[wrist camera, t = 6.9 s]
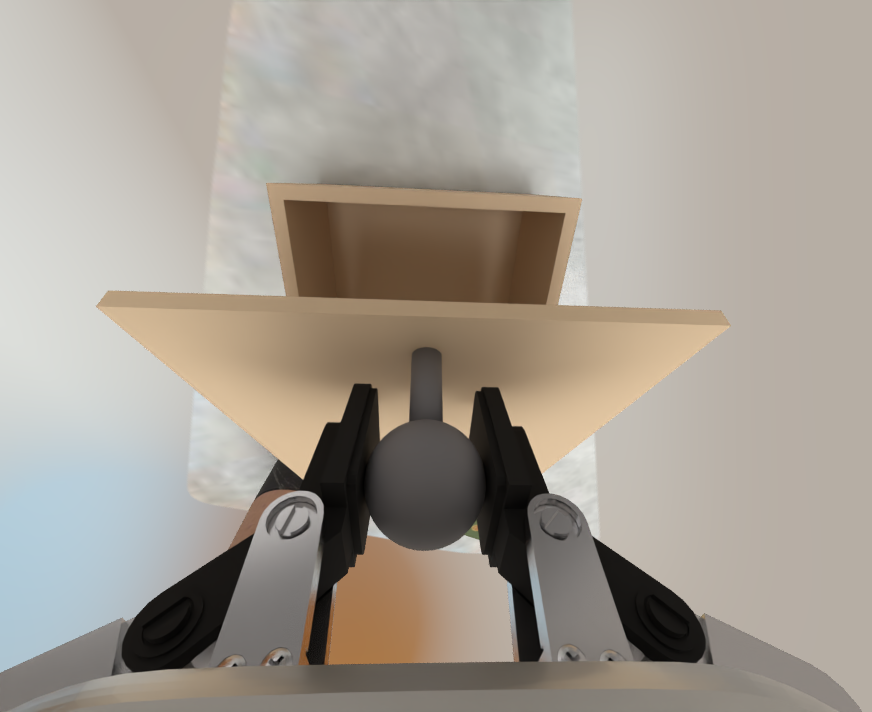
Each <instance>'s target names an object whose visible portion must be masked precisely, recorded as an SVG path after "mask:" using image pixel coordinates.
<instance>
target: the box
mask: <svg viewBox="0 0 872 712" xmlns="http://www.w3.org/2000/svg"><path fill="white" fill-rule="evenodd" d="M266 185H267V191H268V196H269V202H270V208H271V213H272V219H273V224H274V230H275V236H276V241H277V247H278V253H279V258H280V264H281V270H282V275H283V281H284V287H285V292H286V296H289V297H320V298H351V299H381V300H412V301H442V302H473V303H504V304H534V305H558V302H559V297H560V293H561V289H562V284H563V280H564V276H565V271H566V267H567V263H568V258H569V254H570V250H571V245H572V241H573V236H574V232H575V228H576V223H577V219H578V215H579V210H580V206H581V202H582V199H580V198H568V197H556V196H545V195H533V194H514V193H494V192H474V191H453V190H433V189H413V188H393V187H373V186H353V185H333V184H298V183H266Z"/></svg>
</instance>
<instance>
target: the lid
mask: <svg viewBox="0 0 872 712" xmlns="http://www.w3.org/2000/svg"><path fill="white" fill-rule="evenodd" d="M96 307H97V308H98V309H100V310H101V311H102V312H103V313H104V314H105V315H107V316H108V317H109V318H110V319H111V320H113V321H114V322H115V323H116V324H117V325H119V326H120V327H121V328H122V329H123V330H125V331H126V332H127V333H128V334H130V335H131V336H132V337H133V338H134V339H135V340H137V341H138V342H139V343H140V344H141V345H143V346H144V347H145V348H146V349H148V350H149V351H150V352H151V353H152V354H153V355H155V356H156V357H157V358H158V359H159V360H161V361H162V362H163V363H164V364H166V366H168V367H169V368H170V369H171V370H172V371H174V372H175V373H176V374H177V375H178V376H180V377H181V378H182V379H183V380H185V381H186V382H187V383H188V384H189V385H191V386H192V387H193V388H194V389H195V390H196V391H198V392H199V393H200V394H201V395H202V396H204V397H205V398H206V399H207V400H208V401H210V402H211V403H212V404H213V405H214V406H216V407H217V408H218V409H219V410H220V411H222V412H223V413H224V414H225V415H226V416H228V417H229V418H230V419H231V420H232V421H234V422H235V423H236V424H237V425H238V426H240V427H241V428H242V429H243V430H244V431H245V432H247V433H248V434H249V435H250V436H251V437H253V438H254V439H255V440H256V441H257V442H259V443H260V444H261V445H262V446H263V447H265V448H266V449H267V450H268V451H269V452H271V453H272V454H273V455H274V456H275V457H277V458H278V459H279V460H280V461H281V462H283V463H284V464H285V465H286V466H287V467H289V468H290V469H291V470H292V471H293V472H295V473H296V474H297V475H298V476H299V477H301V478H302V479H304V476H305V474H306V471H307V469H308V466H309V464H310V461H311V459H312V457H313V454H314V452H315V449H316V447H317V444H318V442H319V439H320V437H321V434H322V432H323V429H324V427H325V425H326V423H328V422H341V420H342V417H343V414H344V411H345V408H346V405H347V402H348V400H349V397H350V394H351V391H352V388H353V385H354V384H355V383H359V384H371V385H372V388H377V389H378V405H379V428H380V442H379V443H378V444H377V446H376V447H375V449H374V450H373V452H372V454H371V456H370V458H369V461H368V464H367V467H366V471H365V477H364V496H365V500H366V505H367V508H368V510H369V513H370V515H371V517H372V519H373V521H374V523H375V524H376V526H377V527H378V528H379V530H380V531H381V532H382V533H383V534H384V535H385V536H387V537H388V538H389V539H390V540H392V541H393V542H395V543H397V544H398V545H401V546H403V547H406V548H409V549H413V550H421V551H424V550H425V551H426V550H427V551H428V550H436V549H440V548H443V547H446V546H448V545H450V544H452V543H454V542H455V541H457V540H459V539H460V538H461V537H462V536H464V535H465V534H466V533H467V532H468V530H469V529H470V528H471V527H472V525H473V524H474V523H475V521H476V520H477V518H478V516H479V514H480V512H481V509H482V506H483V503H484V499H485V493H486V476H485V469H484V465H483V462H482V459H481V457H480V455H479V453H478V451H477V449H476V448H475V446H474V444H473V443H472V442H471V441H470V439H469V434H470V427H471V419H472V412H473V404H474V397H475V392H476V391H481V388H482V387H498V388H499V390H500V392H501V395H502V398H503V401H504V404H505V407H506V410H507V413H508V416H509V419H510V422H511V425H512V426H522V427H523V428H524V430H525V432H526V435H527V437H528V440H529V442H530V445H531V447H532V450H533V453H534V455H535V458H536V460H537V463H538V466H539V468H540V471H541V473H543V472H545V471H546V470H547V469H548V468H550V467H551V466H552V465H554V464H555V463H556V462H557V461H559V460H560V459H561V458H563V457H564V456H565V455H566V454H568V453H569V452H570V451H571V450H573V449H574V448H575V447H577V446H578V445H579V444H580V443H582V442H583V441H584V440H586V439H587V438H588V437H589V436H591V435H592V434H593V433H595V432H596V431H597V430H598V429H599V428H601V427H602V426H603V425H605V424H606V423H607V422H609V421H610V420H611V419H612V418H614V417H615V416H616V415H617V414H619V413H620V412H621V411H623V410H624V409H625V408H626V407H628V406H629V405H630V404H632V403H633V402H634V401H635V400H637V399H638V398H639V397H640V396H642V395H643V394H644V393H646V392H647V391H648V390H650V389H651V388H652V387H653V386H655V385H656V384H657V383H658V382H660V381H661V380H662V379H664V378H665V377H666V376H667V375H669V374H670V373H671V372H672V371H674V370H675V369H676V368H677V367H679V366H680V365H682V364H683V363H684V362H685V361H686V360H688V359H689V358H690V357H692V356H693V355H694V354H696V353H697V352H698V351H699V350H701V349H702V348H703V347H705V346H706V345H707V344H708V343H710V342H711V341H712V340H713V339H715V338H716V337H717V336H719V335H720V334H721V333H722V332H724V331H725V330H726V329H727V328H729V327H730V326H731V325H730V323H729V322H728V320H727V319H726V317H725V316H724V314H723V313H722V311H718V310H687V309H686V310H685V309H656V308H655V309H653V308H626V307H595V306H565V305H534V304H504V303H473V302H442V301H412V300H381V299H351V298H320V297H289V296H259V295H228V294H198V293H196V294H195V293H167V292H166V293H165V292H136V291H108V292H107V293H106V294H105V295H104V297H103V298H102V299H101V301H100V302H99V303H98V304H97V306H96Z"/></svg>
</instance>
